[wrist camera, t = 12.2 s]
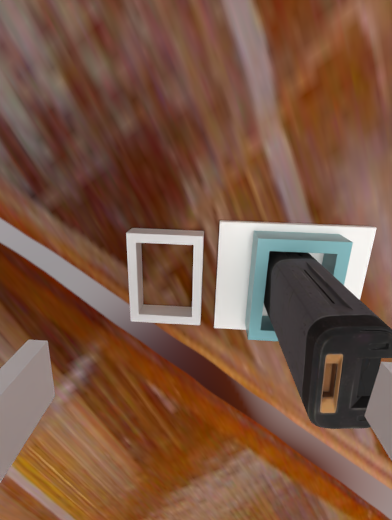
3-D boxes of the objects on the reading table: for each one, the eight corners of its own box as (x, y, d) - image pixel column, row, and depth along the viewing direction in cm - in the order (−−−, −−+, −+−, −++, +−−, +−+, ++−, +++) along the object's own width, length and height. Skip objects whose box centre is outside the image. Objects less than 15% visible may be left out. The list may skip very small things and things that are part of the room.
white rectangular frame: (135, 311, 45) (130, 321, 42) (132, 227, 41) (126, 233, 38) (200, 314, 44) (200, 325, 42) (204, 230, 40) (203, 236, 37)
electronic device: (304, 309, 42) (385, 432, 23) (262, 310, 42) (307, 432, 23) (309, 246, 39) (406, 328, 20) (263, 247, 39) (317, 330, 20)
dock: (214, 324, 45) (214, 343, 40) (219, 220, 40) (220, 228, 35) (348, 331, 44) (364, 352, 39) (372, 226, 39) (394, 235, 34)
